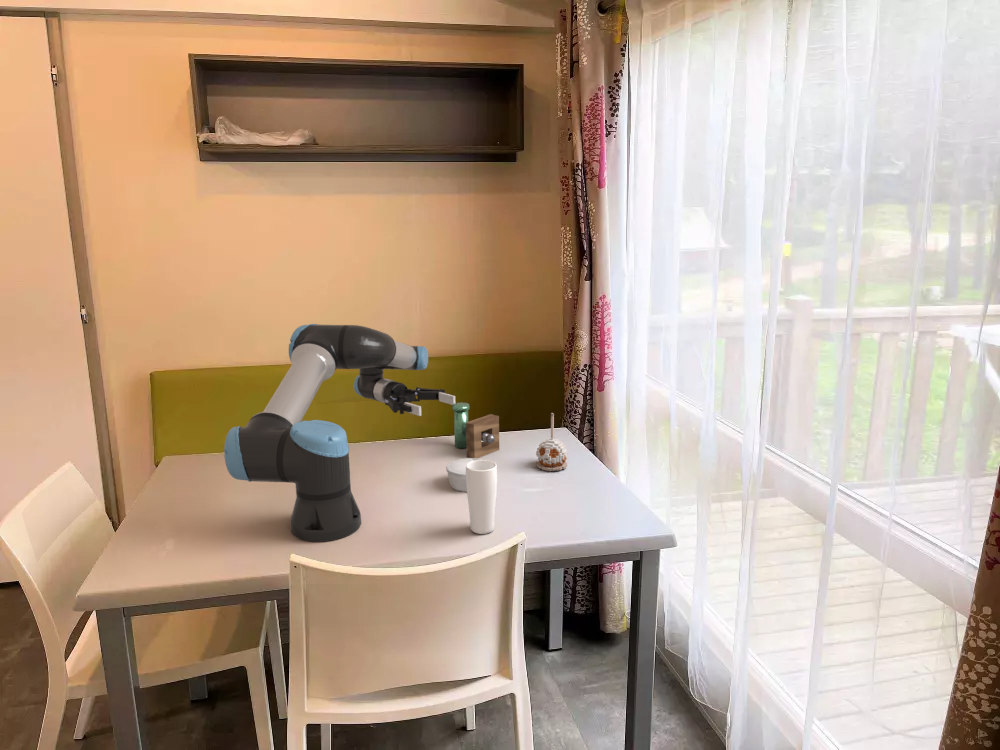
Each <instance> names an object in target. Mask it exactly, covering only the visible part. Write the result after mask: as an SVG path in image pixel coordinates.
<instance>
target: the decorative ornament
mask: <svg viewBox="0 0 1000 750" xmlns="http://www.w3.org/2000/svg"><path fill="white" fill-rule="evenodd" d="M554 416H555V413H553V412H551V413H550V437H548V439H544V440H543V441H542V442H541V443H539V445H538V447H537V449H536V451H535V453H536V454H535V455H536V457H537V460H538V461H537V463H536V467H538V468H539V469H541V470H542V471H548V472H551V471H553V472H555V471H561V470H565V469H566V468H567V467H568V462H567V461H566V460H567V459H568V448H567V446H566V443H564V442H563V441H561V440H560V439H559V438H554V436H555V433H554V432H555V430H554V427H555V426H554V424H555V422H554V421H555V420H554V419H555V417H554Z"/></svg>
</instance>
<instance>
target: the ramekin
mask: <svg viewBox="0 0 1000 750" xmlns="http://www.w3.org/2000/svg"><path fill="white" fill-rule="evenodd" d="M475 460H482V459H480V458H477V459H475V458H469V457H466V458H459V459H455V460H452V461H450V462H448V464H446V466H445V468H446V473H447V478H448V482H449V484H450V486H451V488H452V489H454V490H455V491H457V492H461V493H462V492H463V493H467V488H466V464H467V463H469V462H471V461H475Z"/></svg>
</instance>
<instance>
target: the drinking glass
mask: <svg viewBox="0 0 1000 750" xmlns="http://www.w3.org/2000/svg"><path fill="white" fill-rule="evenodd" d="M466 488H467V492H466V494H467V504H468V511H469V512H468V514H469V522H470V523H469V525H470V526H469V528H470V530H471V531H472V532H473V533H474V534H478V535H486V534H490V533H491V532H493V531H494V530H495V528H496V508H497V493H498V466H497V463H496V462H495V461H493V460H489V459H481V460H475V461H471V462H469V463H467V464H466Z"/></svg>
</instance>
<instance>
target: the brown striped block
mask: <svg viewBox="0 0 1000 750" xmlns="http://www.w3.org/2000/svg"><path fill="white" fill-rule="evenodd" d="M481 432H485V433H488V434H493V435H494V437H495V440H494V442H493V443H488V442H485V441H481ZM466 440H467V447H466V458H475V459H480V458H482V457H484V456H487V455H490V454H492V453H495V452H497V451H500V416H499V415H495V414H492V413H490V414H487V415H485V416H482V417H478V418H475V419H472V420H470V421H469V420H468V422H466Z"/></svg>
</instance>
